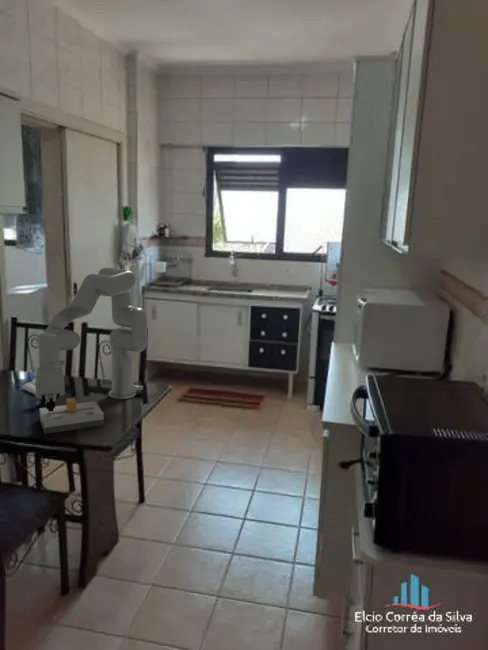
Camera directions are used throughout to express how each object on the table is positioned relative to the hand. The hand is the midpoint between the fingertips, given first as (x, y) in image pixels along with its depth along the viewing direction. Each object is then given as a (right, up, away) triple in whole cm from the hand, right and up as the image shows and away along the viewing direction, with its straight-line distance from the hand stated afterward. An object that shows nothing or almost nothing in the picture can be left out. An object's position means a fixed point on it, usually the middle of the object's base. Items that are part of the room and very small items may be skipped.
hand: (50, 410), depth 195 cm
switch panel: (+6, -6, +6) cm, 10 cm away
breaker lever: (+7, -3, +4) cm, 8 cm away
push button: (-11, -1, +22) cm, 25 cm away
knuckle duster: (-19, +2, +41) cm, 45 cm away
